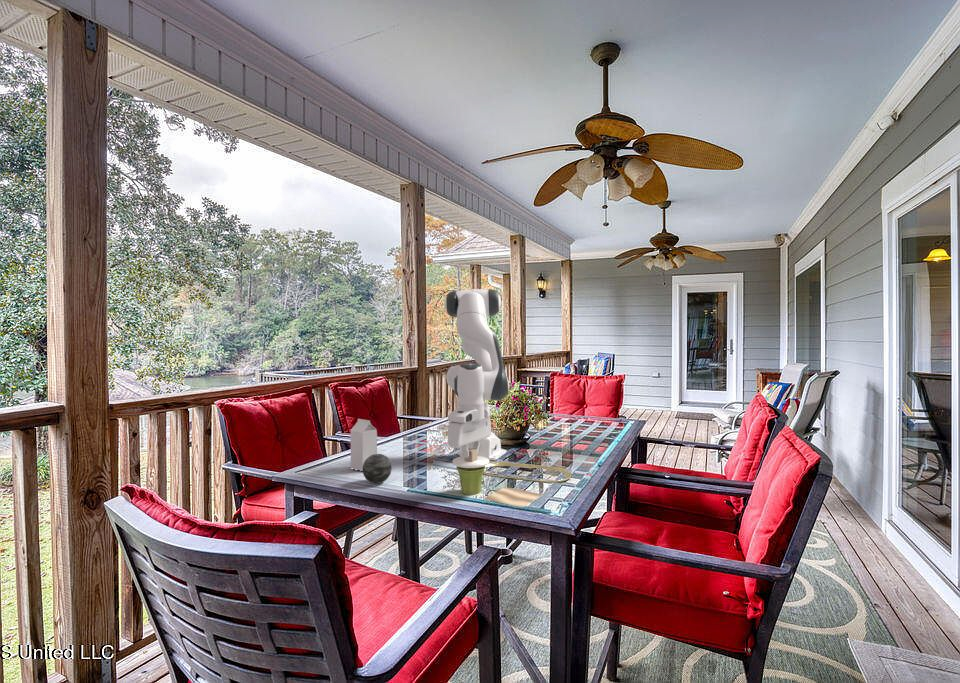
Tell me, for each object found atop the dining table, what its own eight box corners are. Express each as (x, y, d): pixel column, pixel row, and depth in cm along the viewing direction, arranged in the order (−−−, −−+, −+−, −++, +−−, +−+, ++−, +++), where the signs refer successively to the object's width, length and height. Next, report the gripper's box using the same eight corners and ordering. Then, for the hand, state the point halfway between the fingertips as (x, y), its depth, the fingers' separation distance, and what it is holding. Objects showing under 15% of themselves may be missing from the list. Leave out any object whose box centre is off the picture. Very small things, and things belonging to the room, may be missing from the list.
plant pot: (460, 499, 152) (460, 471, 152) (453, 490, 161) (453, 464, 161) (488, 496, 155) (488, 469, 154) (481, 487, 164) (481, 462, 164)
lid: (466, 456, 166) (466, 443, 166) (496, 461, 160) (496, 448, 159) (445, 464, 156) (445, 451, 156) (476, 470, 149) (476, 456, 149)
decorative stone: (382, 476, 177) (381, 449, 176) (397, 482, 169) (397, 454, 169) (357, 482, 170) (357, 454, 170) (372, 489, 162) (372, 459, 162)
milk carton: (362, 472, 182) (362, 421, 182) (350, 469, 186) (350, 420, 186) (377, 468, 188) (377, 419, 188) (365, 465, 192) (365, 417, 192)
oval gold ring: (564, 487, 165) (564, 483, 165) (470, 476, 178) (470, 472, 178) (576, 473, 182) (576, 469, 182) (489, 464, 195) (489, 460, 195)
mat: (505, 488, 162) (505, 486, 162) (543, 496, 155) (543, 494, 155) (482, 500, 151) (482, 498, 151) (522, 509, 143) (522, 507, 143)
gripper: (479, 408, 168) (480, 447, 168) (444, 416, 151) (444, 461, 151) (495, 409, 165) (495, 450, 165) (460, 418, 147) (461, 463, 148)
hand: (470, 455), depth 158 cm, fingers open, 3 cm apart
